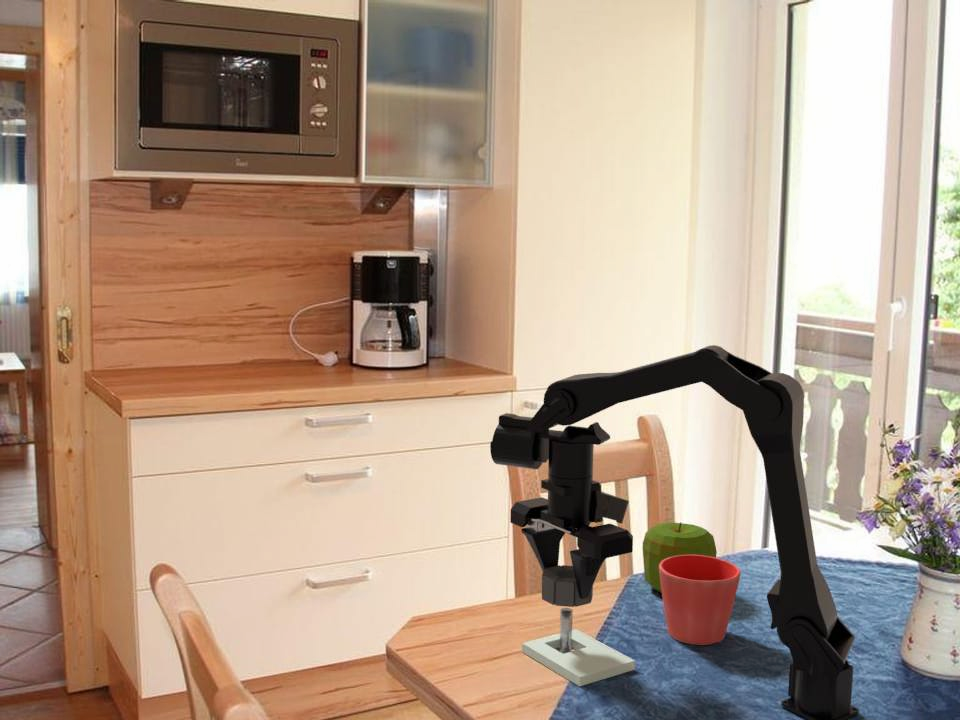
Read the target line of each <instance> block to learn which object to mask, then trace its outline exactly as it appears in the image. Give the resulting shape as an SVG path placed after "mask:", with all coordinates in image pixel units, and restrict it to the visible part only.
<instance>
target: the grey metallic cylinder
mask: <svg viewBox="0 0 960 720" xmlns="http://www.w3.org/2000/svg"><path fill="white" fill-rule="evenodd" d="M573 612H574V610H573V609H572V608H571V607H563V608H561V609H560V615H559V633H560V647H559V648H558V649H559V650H558V651H559V652H561V653H562V654H564V653H568V652H571V651H573V650H572V649H573V648H572V630H573V616H574V615H573V614H574V613H573Z"/></svg>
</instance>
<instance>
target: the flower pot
mask: <svg viewBox="0 0 960 720" xmlns="http://www.w3.org/2000/svg"><path fill="white" fill-rule="evenodd" d="M659 573H660V582H661V590H662V593H661V596H662V604H663V610H664V616H665V620H666V621H665V622H666V626H667V627H666V628H667V632H668V633H669V635H670V636H671V637H672V638H673V639H674V640H677V641H678V642H682V643H685V644H691V645H698V646H699V645H700V646H705V645H712V644H714V643H715V644H717V643H720V642H721V641H722V640H724V639H725V637H726V633H727V629H728V627H729V626H728V625H729V622H730V619H731V615H732V612H733V607H734V603H735V600H736V595H737V593H738V587H739V584H740V583H739V582H740V579H741V570H740V568H739V567H738V566H736V565H735V564H734V563H732V562H730V561H727V560H726V559H725V560H724V559H722V558H719V557H716V558H715V557H710V556H704V555H678V556H672V557H669V558H666V559H664V560H662V561H661V562H660V564H659Z"/></svg>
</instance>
